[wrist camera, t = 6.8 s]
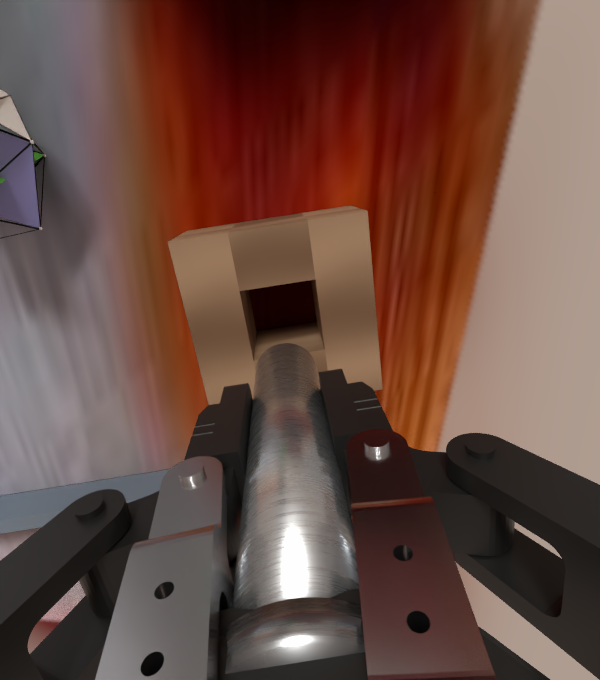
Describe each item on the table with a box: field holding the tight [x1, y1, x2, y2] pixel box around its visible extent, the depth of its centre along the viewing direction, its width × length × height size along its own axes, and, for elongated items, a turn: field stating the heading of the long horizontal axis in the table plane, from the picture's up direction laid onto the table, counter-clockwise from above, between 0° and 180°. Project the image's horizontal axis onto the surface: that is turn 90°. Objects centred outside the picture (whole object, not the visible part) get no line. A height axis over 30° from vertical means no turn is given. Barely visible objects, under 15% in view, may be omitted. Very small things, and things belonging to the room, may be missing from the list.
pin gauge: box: [222, 343, 365, 674], centre depth 10 cm, size 3×3×11 cm
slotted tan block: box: [168, 206, 382, 405], centre depth 23 cm, size 9×9×4 cm
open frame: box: [0, 469, 170, 534], centre depth 26 cm, size 10×19×2 cm, turn 98°
